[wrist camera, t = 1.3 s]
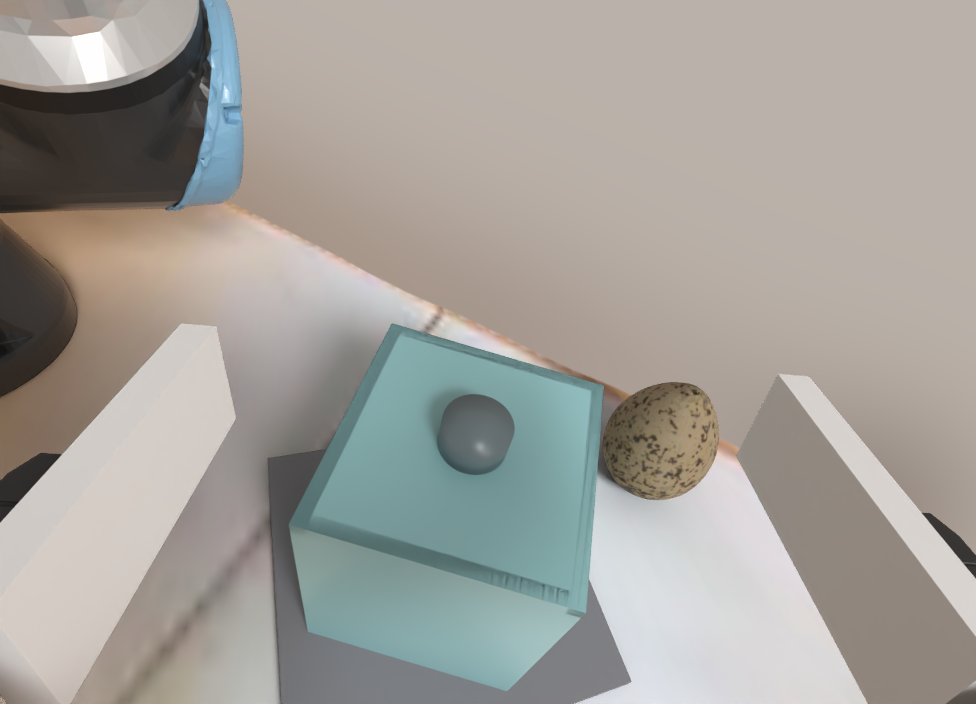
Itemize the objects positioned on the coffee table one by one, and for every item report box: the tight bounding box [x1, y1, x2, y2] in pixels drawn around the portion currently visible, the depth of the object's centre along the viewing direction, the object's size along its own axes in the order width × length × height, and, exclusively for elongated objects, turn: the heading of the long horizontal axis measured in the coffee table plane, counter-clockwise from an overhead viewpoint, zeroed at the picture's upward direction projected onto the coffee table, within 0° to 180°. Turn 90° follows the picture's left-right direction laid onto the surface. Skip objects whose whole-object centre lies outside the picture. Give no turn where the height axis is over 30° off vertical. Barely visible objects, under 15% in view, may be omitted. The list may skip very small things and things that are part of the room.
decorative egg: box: [603, 382, 719, 500], centre depth 36 cm, size 7×7×10 cm
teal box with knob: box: [289, 324, 604, 691], centre depth 27 cm, size 11×11×14 cm
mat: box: [268, 449, 631, 704], centre depth 32 cm, size 18×18×1 cm
